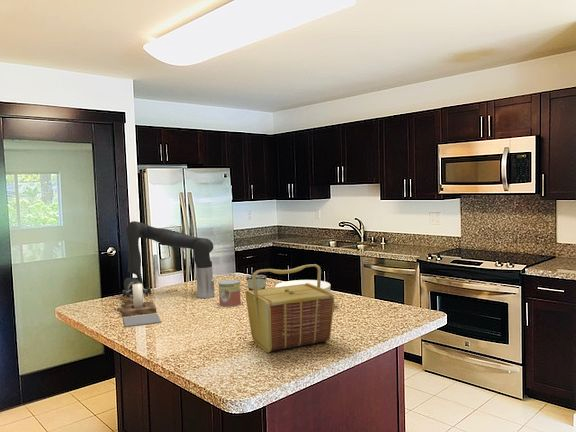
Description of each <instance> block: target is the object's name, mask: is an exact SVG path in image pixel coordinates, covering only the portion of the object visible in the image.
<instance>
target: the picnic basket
mask: <svg viewBox="0 0 576 432" xmlns="http://www.w3.org/2000/svg"><path fill="white" fill-rule="evenodd" d="M311 267H313V268H314V267H315V268H316V269H317V279H316V280H317V286H315V285H312V284H309V283H306V284H300V285H292V286H284V287H276V288H275V287H270V288H269V287H268V288H265V289H260V290H257V285H256V275H259V273H268V272H270V273H273V274H276V275H277V274H278V275H287V274H294V273H297V272H300V271H302V270H304V269H305V268H306V269H307V268H311ZM321 268H322V267H321V266H320V265H318V264H316V263H314V264H311V263H310V264H304V265H301V266H297V267H294V268H289V269H275V268H264V269H263V268H262V269H258V270H255V271H254V272H253V274H252V275H253V277H252V280H253V288H254V290H251V291H249V290H246V291H245V301H246V306H247V307H246V308H247V314H248V320H249V326H250V334H251V335H250V336H251V338H252V340H253V342H254V343H255V344H256V345H258V346H259V347H260V348H261V349H262V350H263V351H265V352H266V353H271V352H273V351H280V350H284V349H292V348H296V347H301V346H308V345H312V344H318V343H328V342H330V339H331V333H332V327H333V318H334V317H333V315H334V309H335V295H334V294H333V292H332V291H331V292H330V291H328V290H325V289H322V288H320V283H321V281H322V280H321V278H322V277H321V276H322V269H321Z"/></svg>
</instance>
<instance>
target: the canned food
mask: <svg viewBox="0 0 576 432" xmlns="http://www.w3.org/2000/svg"><path fill="white" fill-rule="evenodd" d="M240 282H241V281H240V280H239V279H238V280H237V279H224V280H221V281H219V282H218V296H219V307H223V308H224V307H225V308H230V307H233V308H234V307H236V306H237V307H238V306H240V305H241V304H242V303H241V301H242V300H241V283H240Z"/></svg>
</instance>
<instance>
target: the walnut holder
mask: <svg viewBox="0 0 576 432" xmlns="http://www.w3.org/2000/svg"><path fill="white" fill-rule="evenodd" d="M120 306H121V314H122V317H123V318H125V317H133V316H141V315H149V314H157V307H156V305H155V303H154V300H153V301H143V307H142V308H134V305H133V303H127V304H126V303H125V304H121V305H120Z"/></svg>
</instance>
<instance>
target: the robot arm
mask: <svg viewBox="0 0 576 432" xmlns="http://www.w3.org/2000/svg"><path fill="white" fill-rule="evenodd" d="M126 237H127V238H126V239H127V246H128V247H127V248H128V259H127V260H128V263H127V267H128V269H127V272H128V273H129V274H131V275H132V274H133V275H135V276H136V277H127V278H125V279H124V282H123V286H124V289H123V290H122V297H124V298H125V297H126V298H131V297H132V298H133V286H132V285H133V284H138V283H141V284H142V290H143V296H145V297H147V296H148V295H151V294H152V288H151V287H146V288H144V280H143V276H142V271H141V270H142V268H141V267H142V258H141V257H142V256H141V251H140V247H139V243H140V242H139V241H140V239H141V238H142V239H147V240H152V241H154V242H157V243H159V244H160V245H164V246H168V247H171V248H179V249H190V250H193V257H194V263H195V270H196V271H195V274H196V275H195V276H196V296H197V298H199V299H209V298H212V297H215V281H214V280H215V279H214V278H213V275H214V273H213V261H212V260H211V256H210V253H211V252H212V251H213V250H214V243H213V242H212V241H211V240H210V239H209V238H205V237H199V236H198V237H197V236H192V235H189V234H185V233H183V232H180V231H179V232H178V231H176V230H171V229H169V228H168V229H167V228H161V227H160V228H159V227H153V226H151V225H149V224H146V223H143V222H140V221H135V220H134V221H133V220H132V221H130V222H129V223H128V224H127V226H126Z"/></svg>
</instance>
